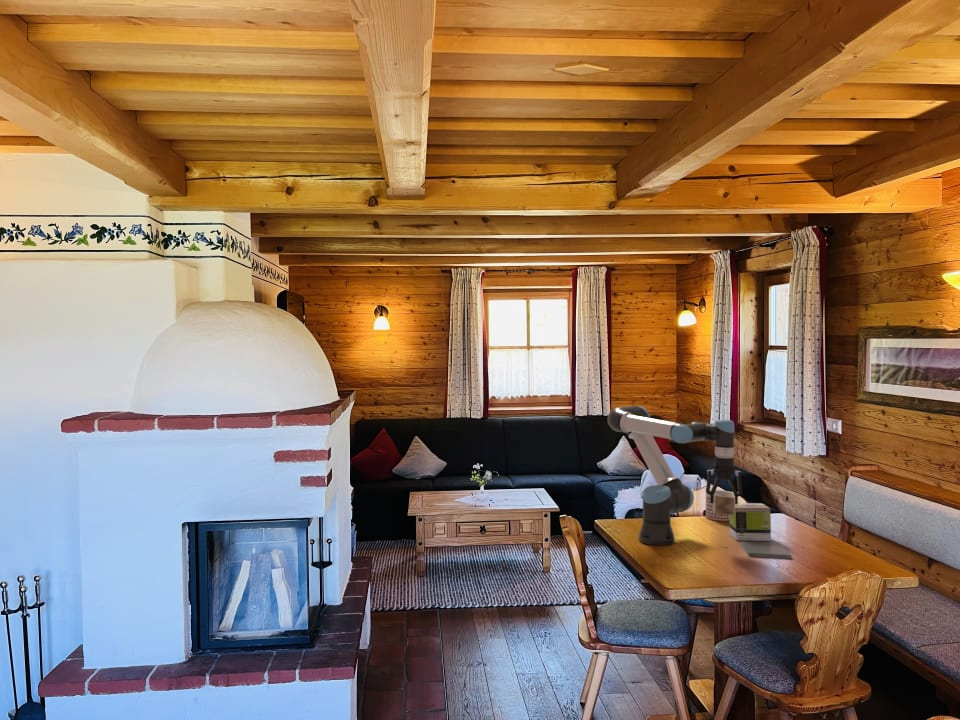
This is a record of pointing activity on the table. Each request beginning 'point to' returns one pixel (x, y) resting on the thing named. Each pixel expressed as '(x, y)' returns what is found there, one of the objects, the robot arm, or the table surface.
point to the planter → (712, 515)
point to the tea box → (751, 522)
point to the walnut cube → (724, 504)
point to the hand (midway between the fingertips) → (723, 511)
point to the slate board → (765, 550)
